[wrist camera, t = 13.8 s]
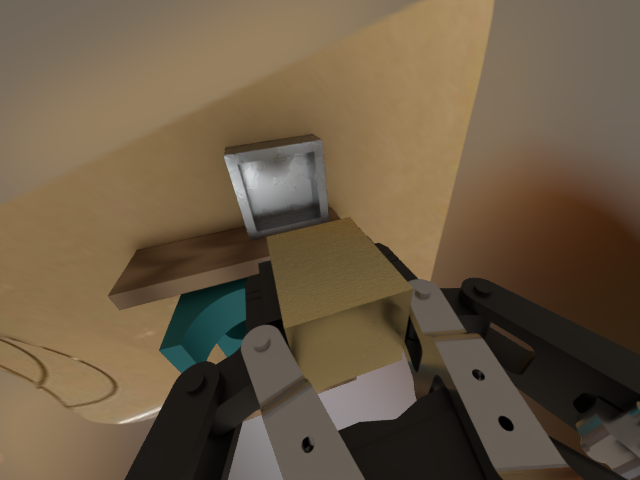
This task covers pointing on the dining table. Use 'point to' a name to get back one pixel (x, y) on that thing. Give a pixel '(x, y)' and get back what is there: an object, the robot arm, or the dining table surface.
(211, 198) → the dining table surface
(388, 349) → the key block
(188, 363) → the teal l-shaped bracket
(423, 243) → the dining table surface
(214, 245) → the bracket
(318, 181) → the tray
